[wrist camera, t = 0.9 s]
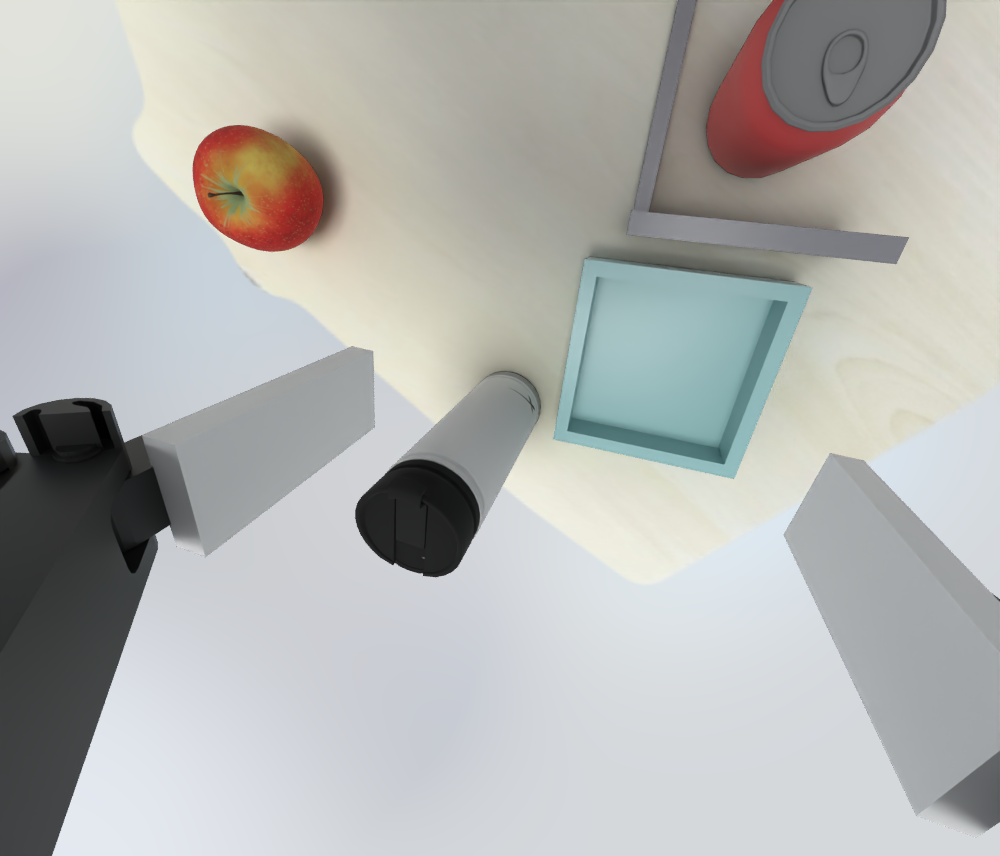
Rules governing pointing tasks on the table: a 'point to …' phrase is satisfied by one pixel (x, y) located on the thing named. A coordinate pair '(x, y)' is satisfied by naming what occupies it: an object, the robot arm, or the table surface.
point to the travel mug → (449, 478)
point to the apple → (257, 188)
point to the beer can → (817, 78)
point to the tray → (674, 361)
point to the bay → (731, 230)
